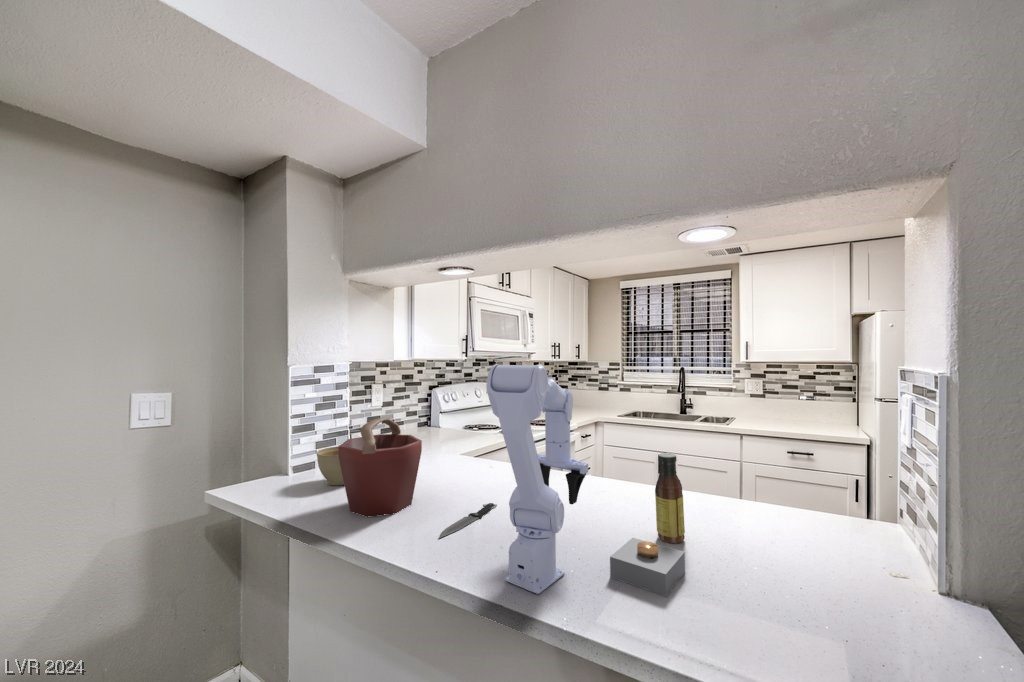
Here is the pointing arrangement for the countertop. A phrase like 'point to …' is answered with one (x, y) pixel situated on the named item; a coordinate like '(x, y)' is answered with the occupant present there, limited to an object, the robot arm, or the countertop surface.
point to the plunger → (647, 549)
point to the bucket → (380, 469)
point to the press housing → (648, 567)
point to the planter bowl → (330, 465)
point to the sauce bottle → (669, 501)
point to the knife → (467, 519)
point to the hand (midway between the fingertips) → (558, 499)
